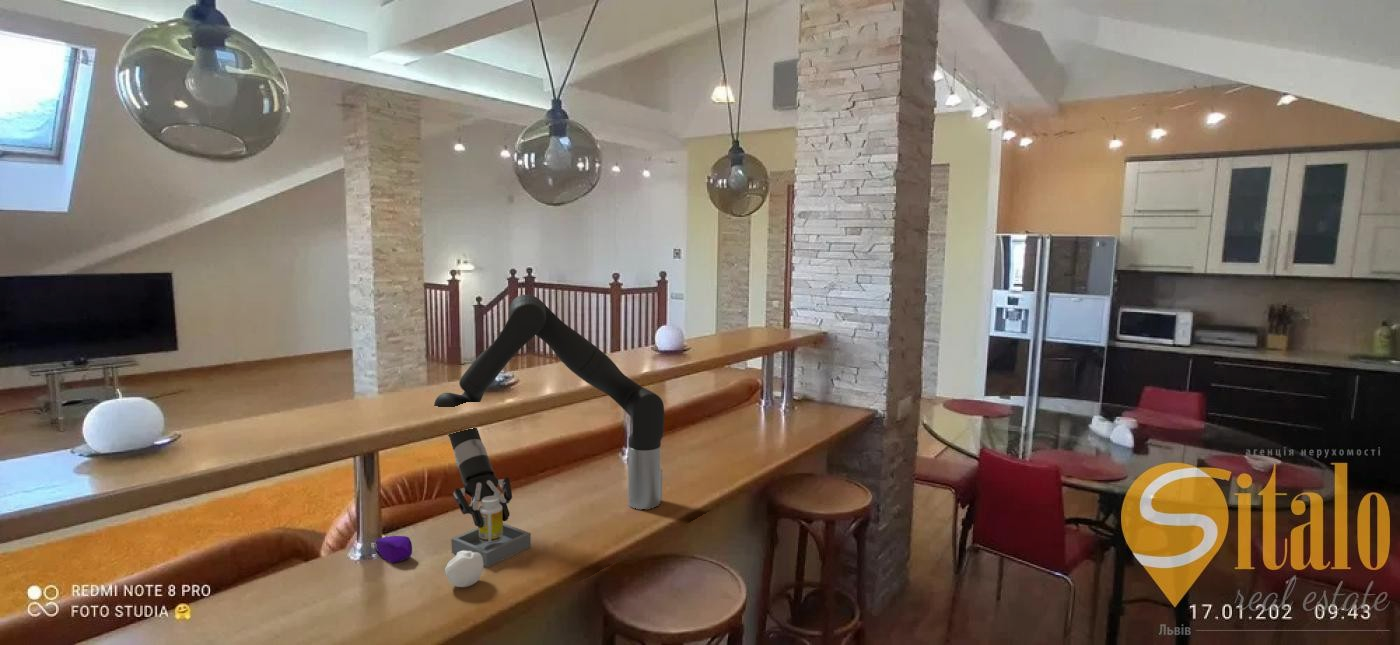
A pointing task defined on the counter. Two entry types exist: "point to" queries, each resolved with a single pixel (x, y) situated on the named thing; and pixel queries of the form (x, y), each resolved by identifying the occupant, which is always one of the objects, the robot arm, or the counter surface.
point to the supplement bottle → (491, 520)
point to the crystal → (394, 548)
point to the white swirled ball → (464, 568)
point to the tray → (493, 544)
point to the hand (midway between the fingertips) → (493, 522)
